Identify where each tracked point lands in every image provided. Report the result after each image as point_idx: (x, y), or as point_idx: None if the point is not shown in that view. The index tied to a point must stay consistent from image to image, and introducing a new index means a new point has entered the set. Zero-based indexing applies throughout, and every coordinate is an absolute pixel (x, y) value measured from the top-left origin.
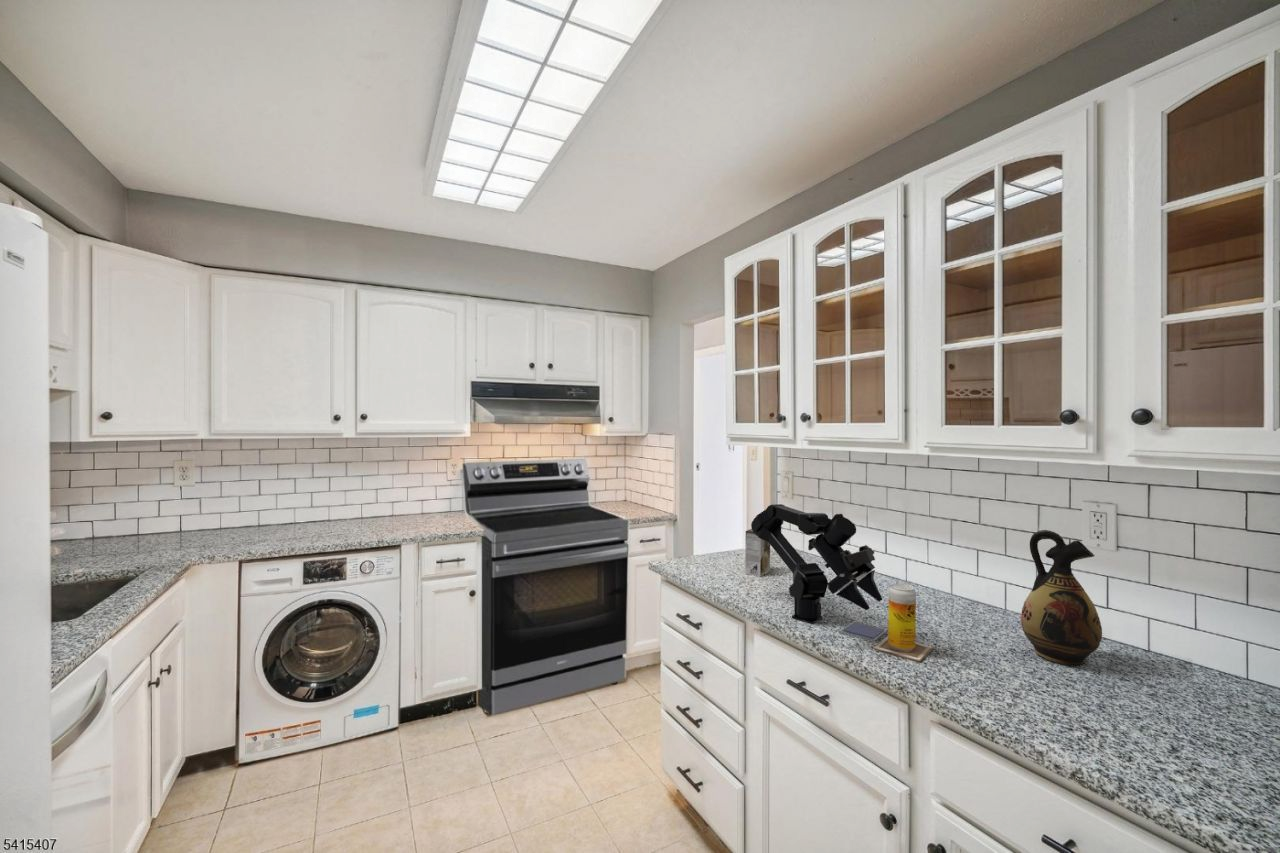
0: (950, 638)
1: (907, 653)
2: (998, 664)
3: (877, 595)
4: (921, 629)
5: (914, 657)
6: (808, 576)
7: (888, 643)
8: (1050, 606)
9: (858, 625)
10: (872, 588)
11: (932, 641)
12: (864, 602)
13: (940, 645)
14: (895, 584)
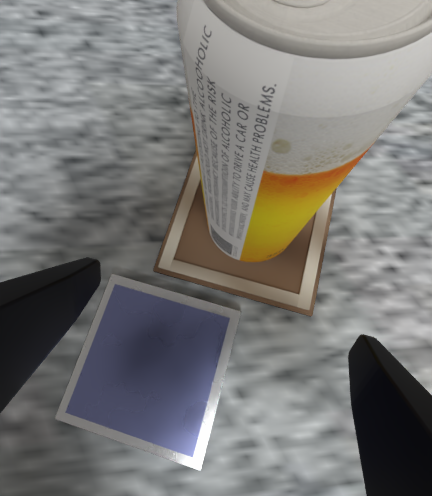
0: (86, 102)
1: None
2: None
3: (72, 289)
4: (31, 172)
5: None
6: None
7: (234, 264)
8: None
9: (107, 390)
10: (6, 335)
11: (134, 144)
12: (416, 384)
13: (159, 125)
14: (225, 5)
